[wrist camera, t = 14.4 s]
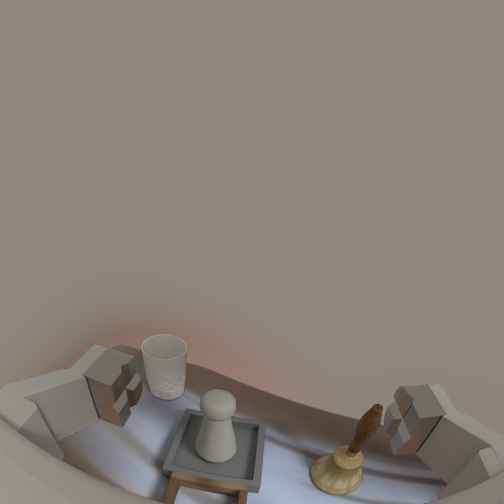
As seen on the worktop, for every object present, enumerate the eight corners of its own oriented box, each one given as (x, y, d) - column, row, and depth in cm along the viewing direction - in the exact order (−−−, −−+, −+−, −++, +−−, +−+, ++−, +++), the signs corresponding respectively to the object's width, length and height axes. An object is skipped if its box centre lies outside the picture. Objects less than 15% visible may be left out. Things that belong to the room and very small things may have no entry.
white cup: (152, 372, 50) (148, 331, 48) (190, 378, 51) (190, 336, 48) (141, 398, 43) (135, 355, 40) (184, 405, 43) (182, 363, 41)
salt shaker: (190, 444, 34) (186, 386, 31) (224, 435, 37) (229, 377, 34) (205, 473, 29) (204, 419, 26) (242, 462, 32) (252, 406, 29)
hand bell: (372, 471, 30) (417, 402, 26) (340, 504, 25) (389, 442, 21) (333, 446, 36) (366, 375, 32) (298, 474, 31) (329, 405, 27)
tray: (264, 429, 40) (266, 421, 39) (258, 493, 27) (260, 486, 27) (186, 416, 41) (186, 408, 40) (164, 475, 28) (162, 468, 28)
